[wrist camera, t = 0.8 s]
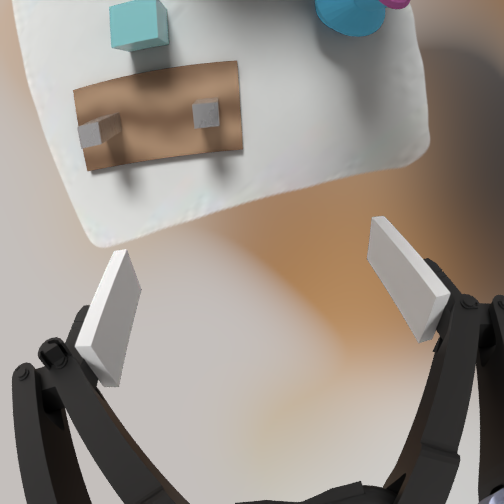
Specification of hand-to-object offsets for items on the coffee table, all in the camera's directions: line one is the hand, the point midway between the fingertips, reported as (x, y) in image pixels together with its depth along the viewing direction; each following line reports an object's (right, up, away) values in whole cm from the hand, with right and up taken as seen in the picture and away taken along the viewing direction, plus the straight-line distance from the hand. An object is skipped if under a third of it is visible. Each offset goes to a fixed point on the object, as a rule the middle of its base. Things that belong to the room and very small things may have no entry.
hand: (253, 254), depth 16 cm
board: (-13, +18, +20) cm, 30 cm away
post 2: (-6, +18, +20) cm, 28 cm away
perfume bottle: (+12, +32, +15) cm, 37 cm away
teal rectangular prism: (-13, +28, +14) cm, 34 cm away
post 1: (-18, +17, +19) cm, 32 cm away
